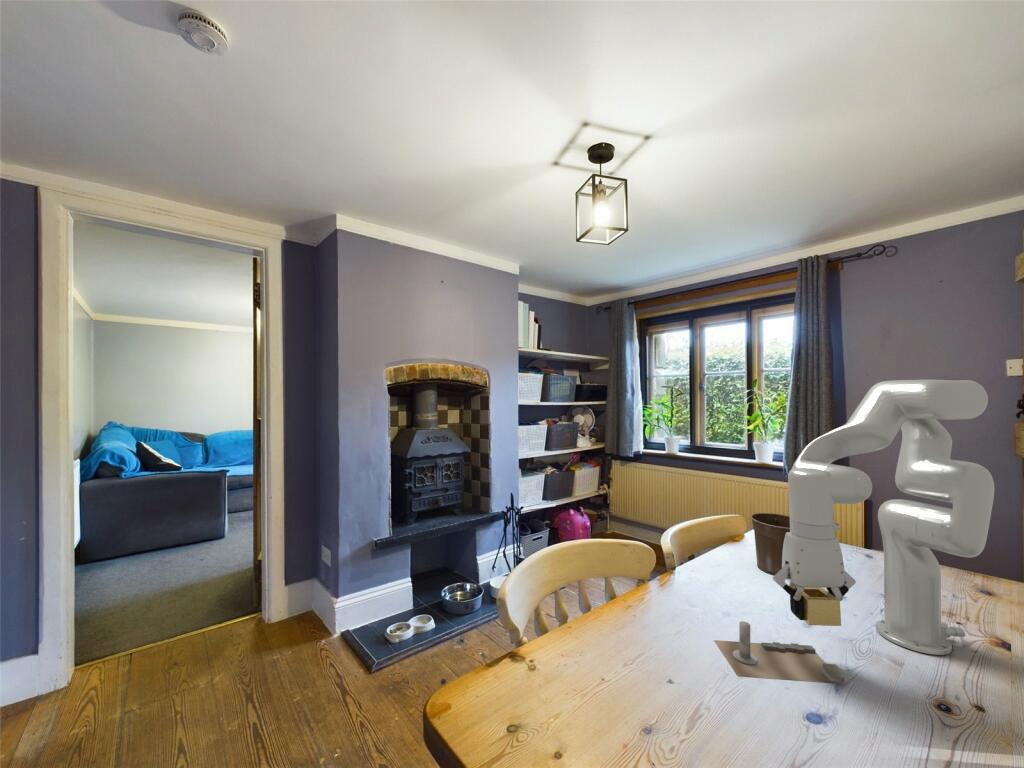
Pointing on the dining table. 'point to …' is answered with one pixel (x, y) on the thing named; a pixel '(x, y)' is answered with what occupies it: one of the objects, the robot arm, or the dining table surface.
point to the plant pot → (770, 539)
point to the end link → (820, 607)
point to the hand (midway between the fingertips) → (815, 616)
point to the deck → (777, 660)
